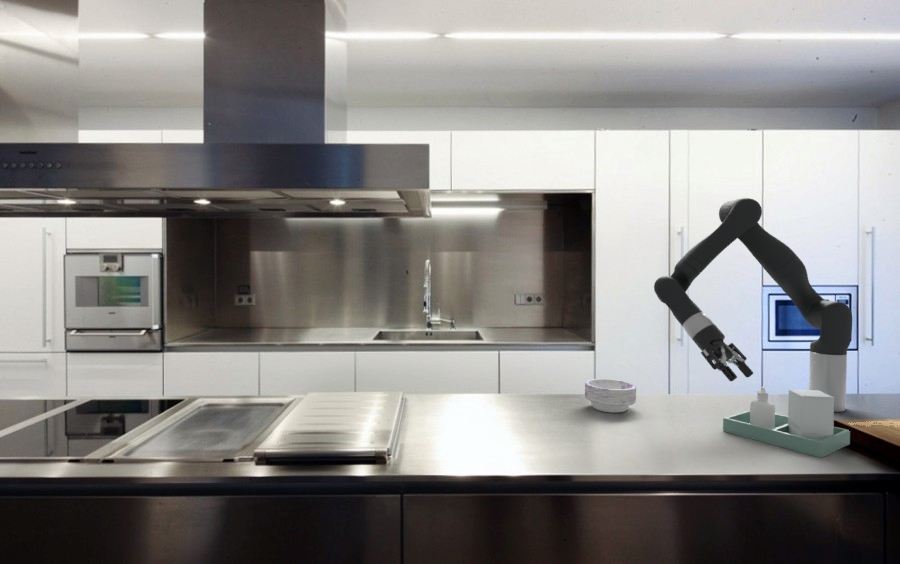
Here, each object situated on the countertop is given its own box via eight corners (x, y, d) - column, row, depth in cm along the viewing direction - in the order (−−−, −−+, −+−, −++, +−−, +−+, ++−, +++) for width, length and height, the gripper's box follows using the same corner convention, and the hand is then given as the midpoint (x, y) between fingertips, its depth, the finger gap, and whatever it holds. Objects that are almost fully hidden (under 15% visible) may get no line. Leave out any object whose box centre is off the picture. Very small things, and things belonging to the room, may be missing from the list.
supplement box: (834, 449, 125) (835, 397, 124) (799, 447, 126) (801, 395, 126) (818, 439, 132) (820, 389, 132) (786, 437, 134) (787, 388, 133)
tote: (753, 420, 148) (753, 408, 148) (849, 444, 129) (850, 430, 129) (723, 430, 139) (723, 418, 139) (821, 457, 120) (821, 442, 120)
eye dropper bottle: (762, 428, 142) (762, 384, 141) (777, 434, 136) (778, 389, 136) (747, 428, 141) (747, 385, 141) (761, 435, 136) (762, 390, 135)
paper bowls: (646, 410, 159) (646, 384, 158) (614, 419, 150) (614, 391, 150) (606, 399, 171) (606, 375, 171) (574, 407, 163) (574, 382, 162)
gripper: (697, 325, 145) (738, 372, 136) (725, 321, 153) (765, 366, 144) (680, 341, 150) (718, 388, 141) (707, 337, 158) (745, 382, 149)
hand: (742, 377), depth 143 cm, fingers open, 8 cm apart
